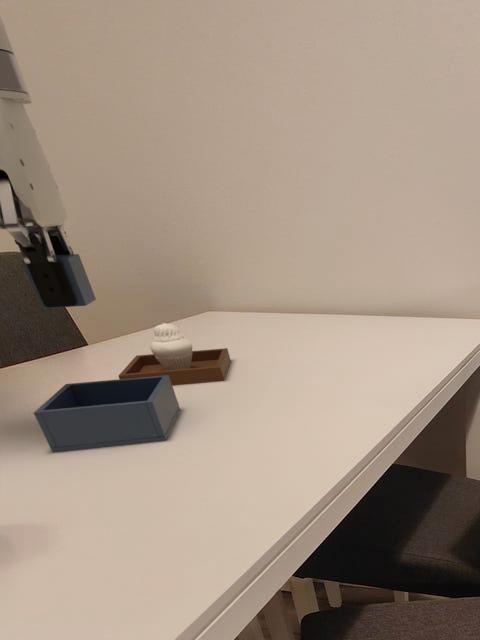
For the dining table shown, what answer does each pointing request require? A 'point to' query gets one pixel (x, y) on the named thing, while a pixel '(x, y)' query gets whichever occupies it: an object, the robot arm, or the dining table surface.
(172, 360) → the muffin
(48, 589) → the dining table surface
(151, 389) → the blue bin
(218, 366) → the brown tray
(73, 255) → the blue block
